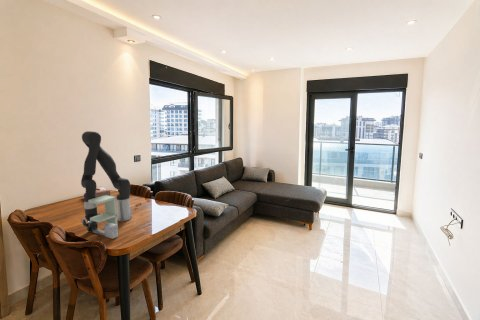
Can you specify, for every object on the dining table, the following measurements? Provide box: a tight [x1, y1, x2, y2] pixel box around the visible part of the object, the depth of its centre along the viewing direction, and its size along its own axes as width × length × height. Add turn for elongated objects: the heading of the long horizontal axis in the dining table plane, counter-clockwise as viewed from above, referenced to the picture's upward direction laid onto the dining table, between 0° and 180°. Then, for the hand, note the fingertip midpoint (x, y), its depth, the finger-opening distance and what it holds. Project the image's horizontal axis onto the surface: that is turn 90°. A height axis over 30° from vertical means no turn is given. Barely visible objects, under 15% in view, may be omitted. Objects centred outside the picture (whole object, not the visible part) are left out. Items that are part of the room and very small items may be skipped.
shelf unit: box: [88, 195, 119, 228], centre depth 172 cm, size 13×10×25 cm
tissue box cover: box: [95, 185, 111, 198], centre depth 251 cm, size 26×14×10 cm, turn 46°
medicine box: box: [103, 223, 119, 239], centre depth 168 cm, size 8×4×9 cm, turn 65°
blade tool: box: [87, 221, 105, 237], centre depth 174 cm, size 4×18×7 cm, turn 64°
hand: (92, 229), depth 177 cm, fingers closed on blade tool, 4 cm apart
